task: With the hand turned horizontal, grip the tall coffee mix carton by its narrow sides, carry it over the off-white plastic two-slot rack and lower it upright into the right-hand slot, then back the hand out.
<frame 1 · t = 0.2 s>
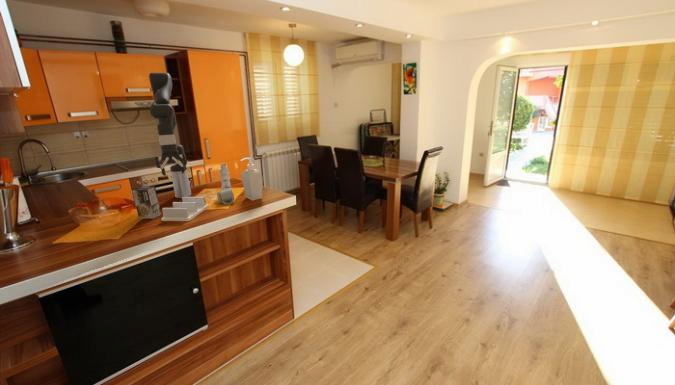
hand: (173, 174, 164), 22 cm above the countertop, tool pointing down, fingers open, 8 cm apart
coffee box: (150, 216, 167), on the countertop
ceramic mug: (227, 202, 187), on the countertop
soap bottle: (252, 198, 194), on the countertop
plastic bottle: (227, 194, 203), on the countertop
slot rack: (186, 213, 170), on the countertop
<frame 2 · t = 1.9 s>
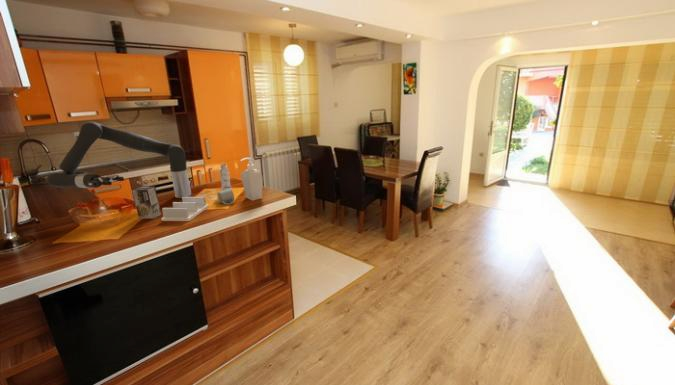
hand: (117, 180, 162), 20 cm above the countertop, tool horizontal, fingers open, 8 cm apart
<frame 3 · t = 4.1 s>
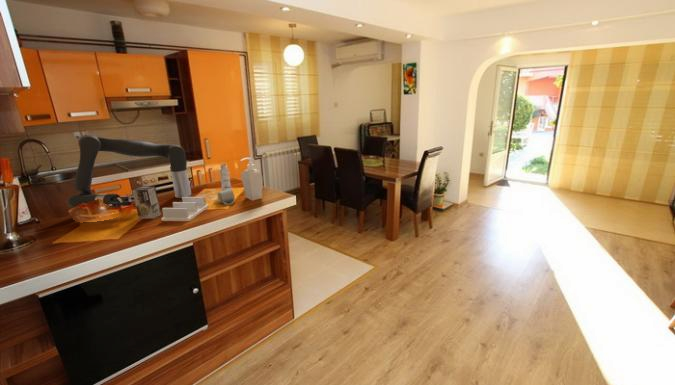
hand: (136, 200, 165), 9 cm above the countertop, tool horizontal, fingers open, 8 cm apart
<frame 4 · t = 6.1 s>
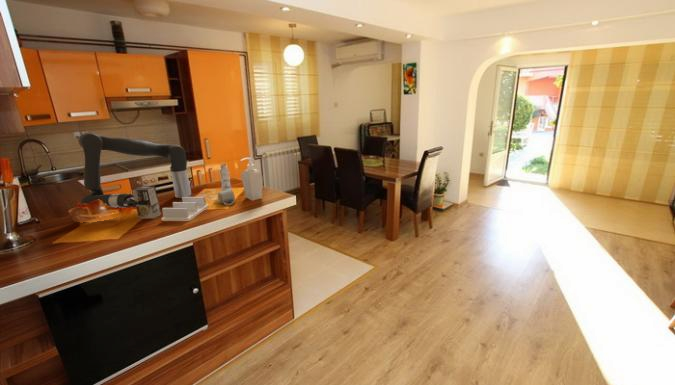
hand: (150, 200, 164), 9 cm above the countertop, tool horizontal, fingers closed on coffee box, 6 cm apart
coffee box: (150, 216, 167), on the countertop, touching gripper
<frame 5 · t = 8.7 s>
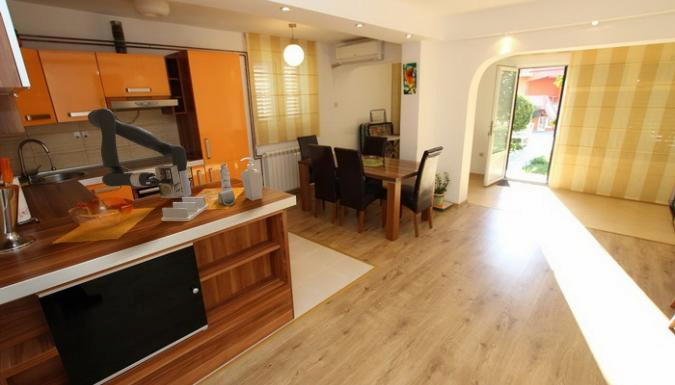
hand: (173, 179, 159), 21 cm above the countertop, tool horizontal, fingers closed on coffee box, 6 cm apart
coffee box: (172, 196, 162), point 11 cm above the countertop, touching gripper
when the fingers open (12 cm above the countertop, at t = 11.7 s): coffee box drops 1 cm, resting on slot rack.
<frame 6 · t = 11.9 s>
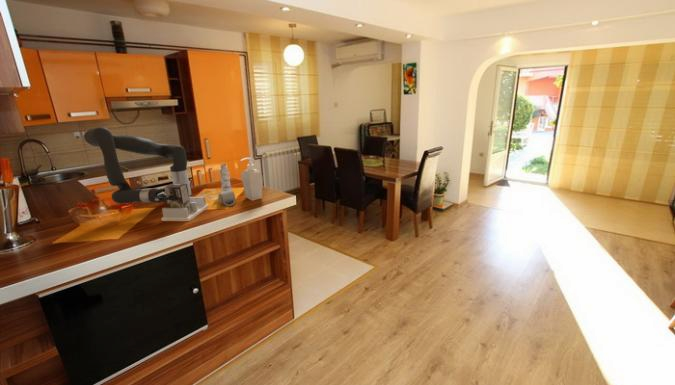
hand: (181, 195, 162), 12 cm above the countertop, tool horizontal, fingers open, 8 cm apart
coffee box: (181, 214, 165), point 1 cm above the countertop, touching slot rack
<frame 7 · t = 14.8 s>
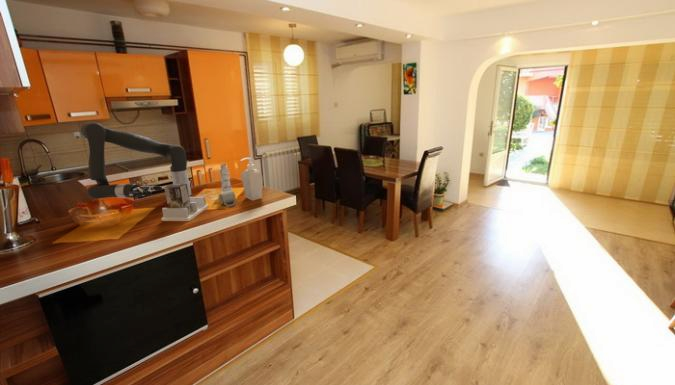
hand: (156, 190, 163), 14 cm above the countertop, tool horizontal, fingers open, 8 cm apart
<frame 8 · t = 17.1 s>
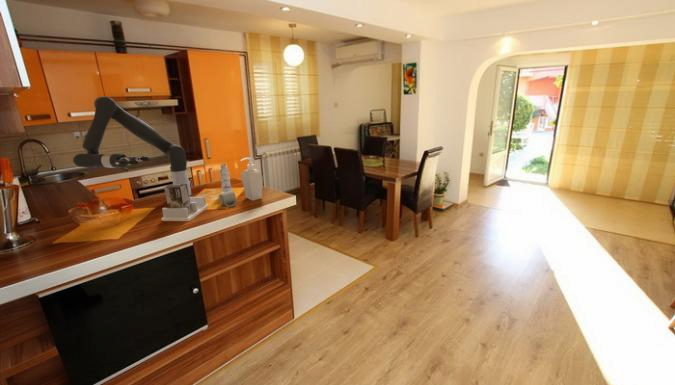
hand: (143, 160, 162), 30 cm above the countertop, tool horizontal, fingers open, 8 cm apart
at the end: coffee box 0.2 cm from the target spot on the slot rack, point 1.3 cm above the slot rack's base; coffee box tilted 0°; the gripper is holding nothing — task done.
